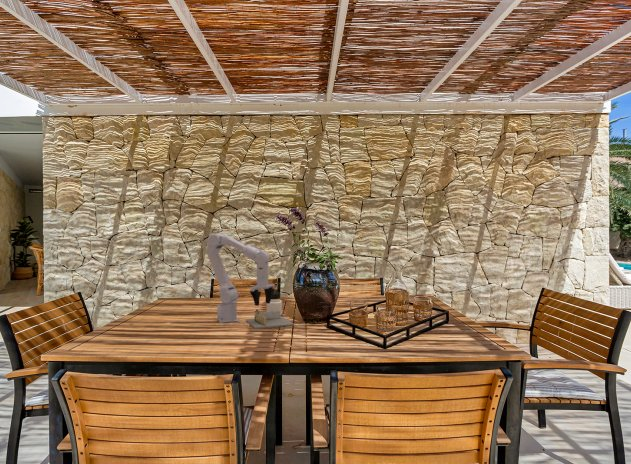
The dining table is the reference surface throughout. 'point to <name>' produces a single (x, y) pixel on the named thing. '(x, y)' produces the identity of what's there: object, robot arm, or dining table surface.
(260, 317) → the swing leaf
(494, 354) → the dining table surface
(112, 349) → the dining table surface
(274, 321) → the board
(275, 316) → the fixed leaf
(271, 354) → the dining table surface
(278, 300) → the medicine bottle
